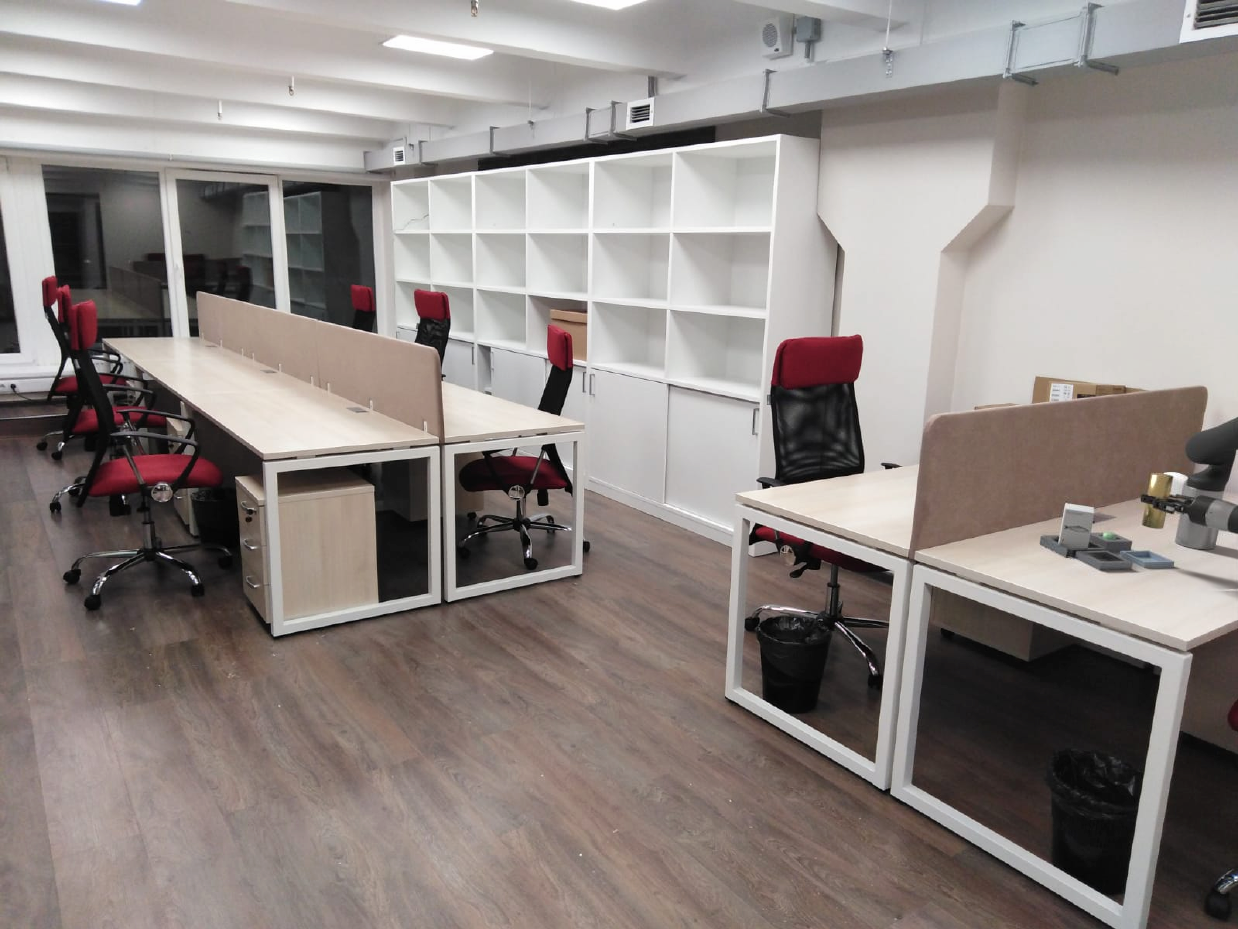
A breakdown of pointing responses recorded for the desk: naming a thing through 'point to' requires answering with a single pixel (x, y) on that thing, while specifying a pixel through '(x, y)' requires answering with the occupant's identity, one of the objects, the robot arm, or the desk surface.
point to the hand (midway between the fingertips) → (1147, 496)
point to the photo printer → (1178, 483)
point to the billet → (1157, 488)
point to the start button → (1109, 535)
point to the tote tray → (1146, 559)
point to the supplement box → (1076, 526)
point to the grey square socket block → (1112, 542)
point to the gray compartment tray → (1087, 554)
